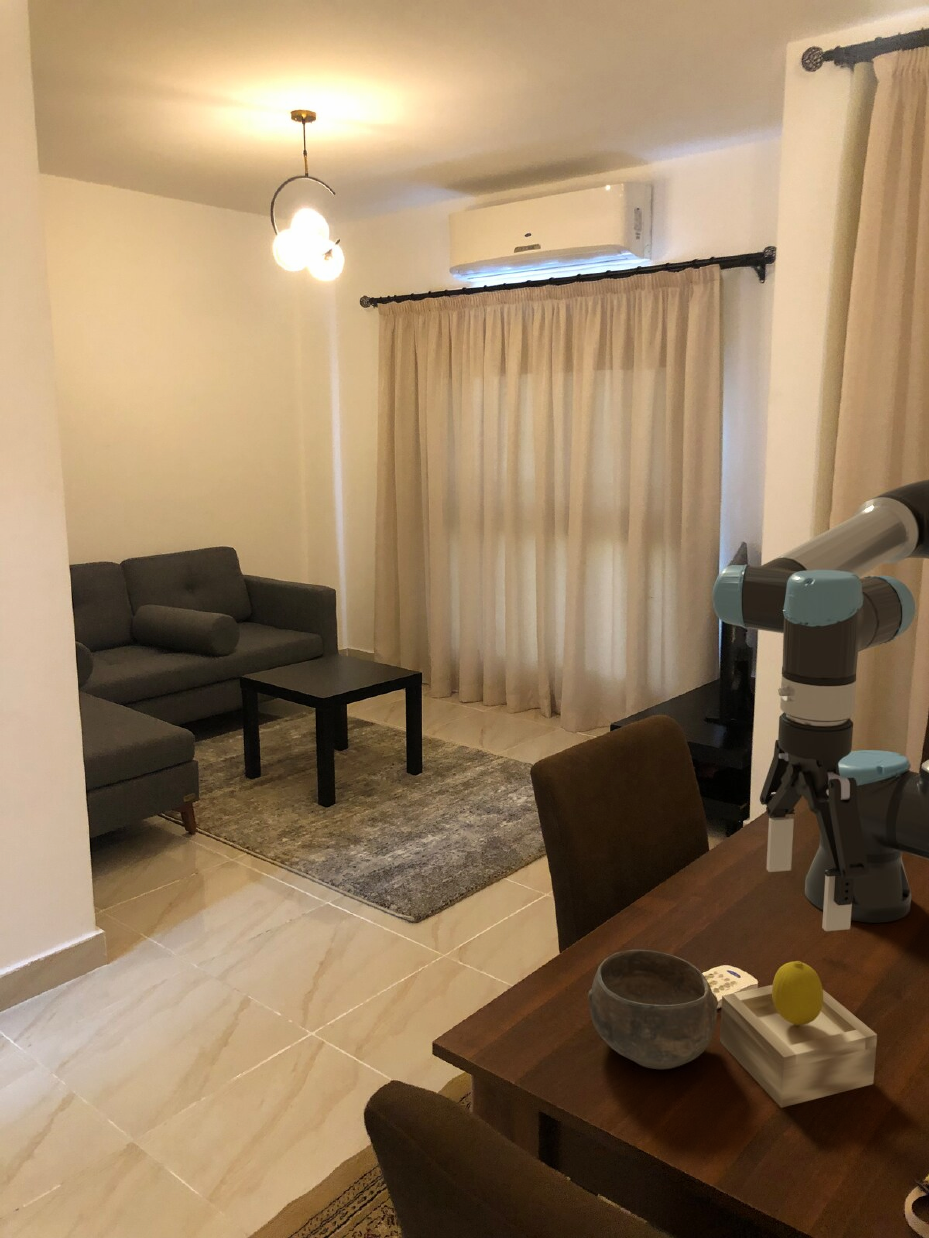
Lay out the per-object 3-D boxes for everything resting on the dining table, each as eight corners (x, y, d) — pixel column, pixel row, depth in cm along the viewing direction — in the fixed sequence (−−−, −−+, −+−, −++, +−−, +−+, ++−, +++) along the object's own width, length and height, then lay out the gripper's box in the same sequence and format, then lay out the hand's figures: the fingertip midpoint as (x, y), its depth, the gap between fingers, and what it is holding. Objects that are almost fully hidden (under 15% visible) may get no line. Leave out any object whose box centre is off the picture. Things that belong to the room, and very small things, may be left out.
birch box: (805, 1024, 120) (808, 976, 119) (873, 1086, 109) (877, 1034, 108) (719, 1044, 117) (722, 995, 115) (781, 1110, 105) (784, 1057, 104)
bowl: (695, 1108, 105) (699, 1025, 103) (564, 1065, 113) (564, 986, 111) (728, 1037, 117) (732, 962, 115) (607, 1002, 125) (609, 931, 123)
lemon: (826, 1041, 109) (828, 976, 107) (774, 1038, 110) (775, 973, 108) (818, 1012, 114) (819, 949, 112) (768, 1009, 115) (769, 947, 113)
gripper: (736, 686, 116) (729, 851, 121) (841, 757, 92) (829, 960, 96) (795, 682, 117) (787, 846, 122) (916, 752, 93) (900, 954, 97)
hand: (805, 897), depth 109 cm, fingers open, 13 cm apart
